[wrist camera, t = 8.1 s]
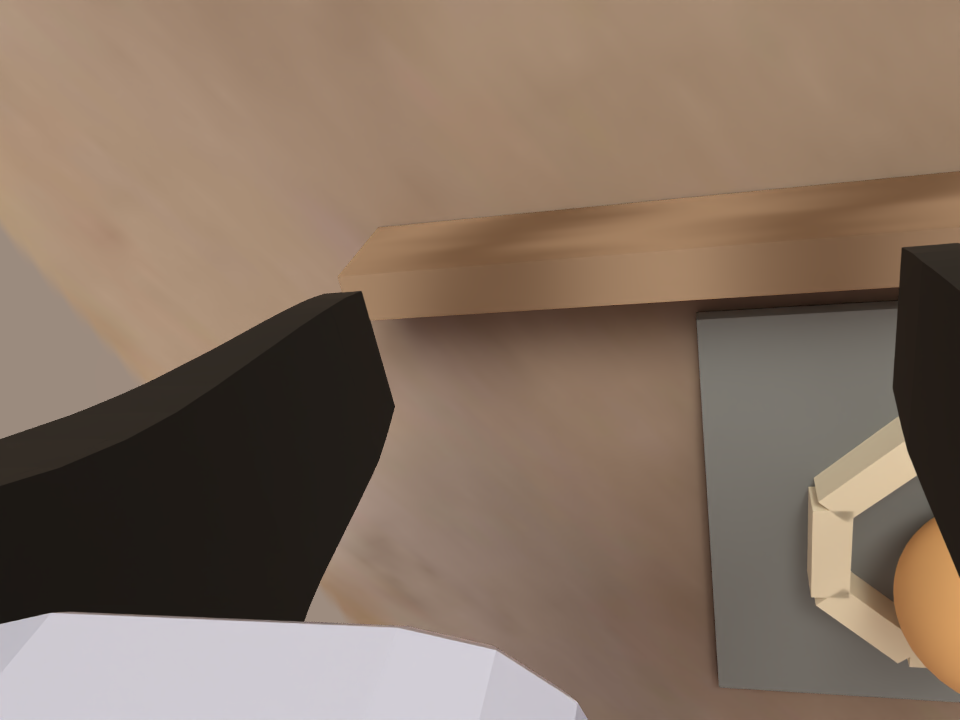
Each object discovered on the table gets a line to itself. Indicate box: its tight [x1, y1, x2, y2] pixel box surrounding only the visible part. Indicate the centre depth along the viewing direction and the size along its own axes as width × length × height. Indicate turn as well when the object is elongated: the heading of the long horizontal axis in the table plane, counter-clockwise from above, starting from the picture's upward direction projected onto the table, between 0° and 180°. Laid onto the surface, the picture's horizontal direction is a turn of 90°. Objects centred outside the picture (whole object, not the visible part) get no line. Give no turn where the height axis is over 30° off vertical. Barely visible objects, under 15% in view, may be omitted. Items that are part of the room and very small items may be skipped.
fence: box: [338, 171, 960, 320], centre depth 18 cm, size 22×1×3 cm, turn 101°
